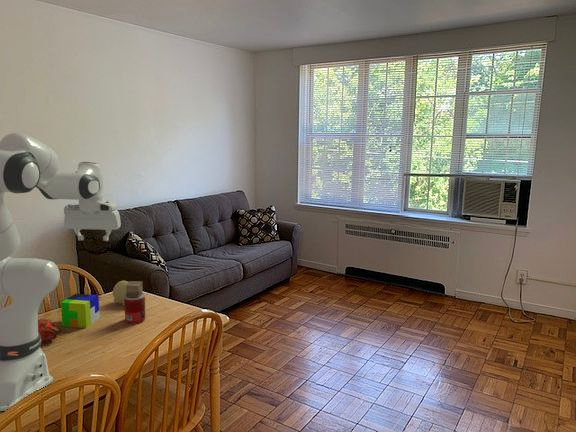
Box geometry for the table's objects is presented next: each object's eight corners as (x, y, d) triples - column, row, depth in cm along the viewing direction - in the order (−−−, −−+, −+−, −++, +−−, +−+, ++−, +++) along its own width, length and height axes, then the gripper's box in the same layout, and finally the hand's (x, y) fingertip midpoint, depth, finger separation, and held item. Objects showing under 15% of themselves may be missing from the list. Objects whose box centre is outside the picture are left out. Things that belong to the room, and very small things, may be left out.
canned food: (146, 322, 179) (145, 297, 177) (125, 325, 176) (124, 299, 174) (144, 315, 186) (144, 291, 184) (124, 317, 183) (123, 292, 181)
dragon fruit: (35, 339, 166) (58, 350, 161) (18, 334, 158) (41, 345, 154) (48, 317, 169) (70, 328, 164) (32, 312, 161) (55, 323, 157)
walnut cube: (139, 297, 177) (138, 285, 176) (126, 297, 177) (125, 285, 176) (142, 293, 182) (142, 281, 181) (130, 292, 182) (129, 281, 181)
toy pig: (130, 309, 192) (130, 286, 190) (108, 305, 196) (107, 282, 194) (145, 301, 201) (144, 279, 199) (123, 298, 205) (122, 276, 203)
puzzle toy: (99, 317, 183) (98, 295, 181) (86, 328, 173) (85, 304, 171) (76, 316, 183) (75, 293, 182) (62, 326, 174) (60, 302, 172)
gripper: (59, 205, 162) (62, 241, 165) (115, 206, 163) (117, 242, 166) (67, 203, 168) (69, 238, 171) (121, 204, 169) (122, 238, 172)
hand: (93, 240), depth 168 cm, fingers open, 8 cm apart
